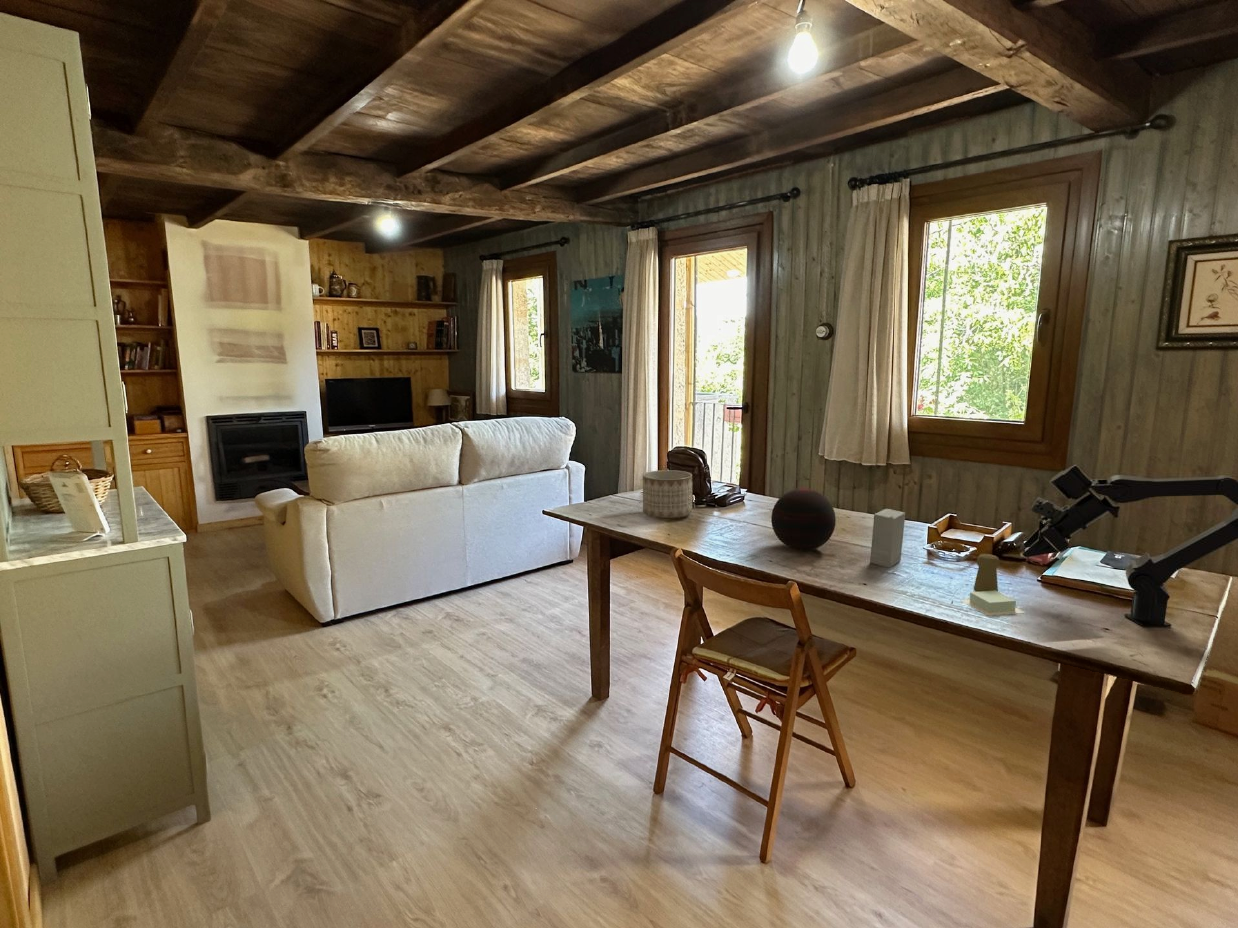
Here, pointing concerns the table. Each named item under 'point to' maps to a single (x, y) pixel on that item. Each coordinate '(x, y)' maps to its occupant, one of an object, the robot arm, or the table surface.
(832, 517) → the decorative orb
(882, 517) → the skincare box
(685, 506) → the planter
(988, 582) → the olive pawn shaped peg
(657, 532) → the table surface
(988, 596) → the tower block
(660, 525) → the table surface
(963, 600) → the tower slab
